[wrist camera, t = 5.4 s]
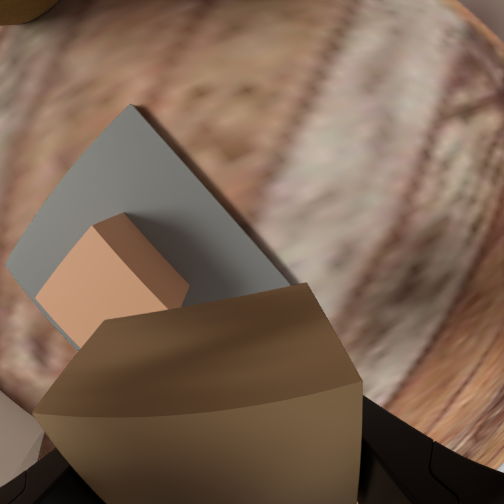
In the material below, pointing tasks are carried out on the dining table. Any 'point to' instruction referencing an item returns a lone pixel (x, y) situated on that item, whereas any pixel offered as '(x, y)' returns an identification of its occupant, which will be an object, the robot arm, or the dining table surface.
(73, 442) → the walnut block
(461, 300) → the dining table surface
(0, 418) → the milk
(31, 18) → the plant pot
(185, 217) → the tower base
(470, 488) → the robot arm
